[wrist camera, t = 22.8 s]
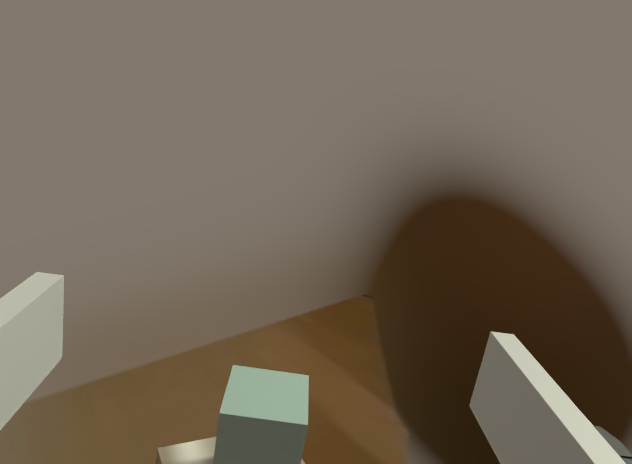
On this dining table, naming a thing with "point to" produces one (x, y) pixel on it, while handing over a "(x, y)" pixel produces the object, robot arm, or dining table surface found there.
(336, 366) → the dining table surface
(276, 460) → the sage block
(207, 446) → the top block
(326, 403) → the dining table surface
